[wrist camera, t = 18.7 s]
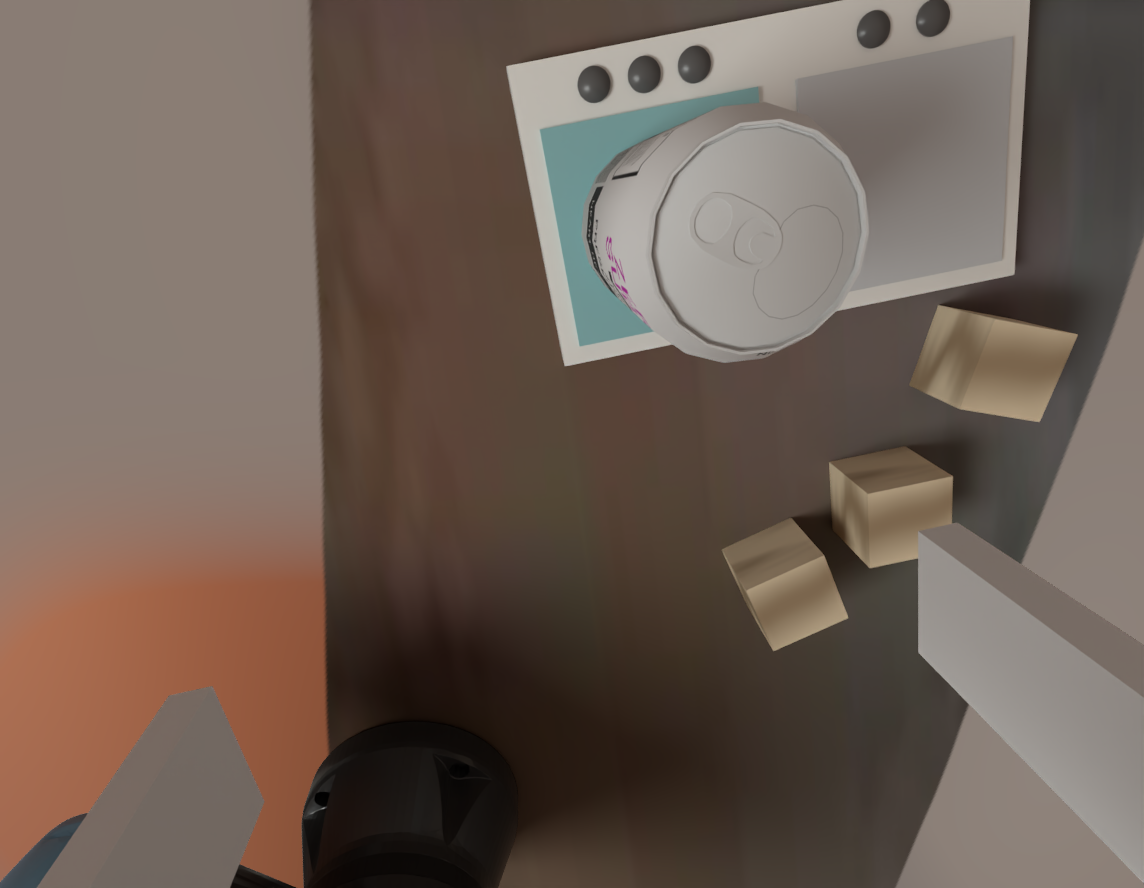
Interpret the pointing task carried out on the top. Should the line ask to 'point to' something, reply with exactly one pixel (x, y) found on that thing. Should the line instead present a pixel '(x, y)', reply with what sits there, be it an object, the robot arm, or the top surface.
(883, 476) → the maple block
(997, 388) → the maple block
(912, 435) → the top surface
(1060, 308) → the top surface
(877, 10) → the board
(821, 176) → the supplement can
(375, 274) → the top surface
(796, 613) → the maple block
